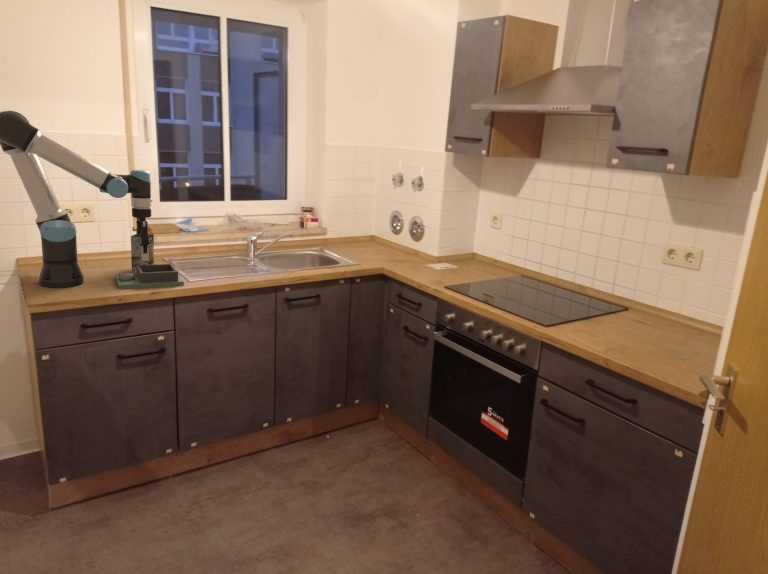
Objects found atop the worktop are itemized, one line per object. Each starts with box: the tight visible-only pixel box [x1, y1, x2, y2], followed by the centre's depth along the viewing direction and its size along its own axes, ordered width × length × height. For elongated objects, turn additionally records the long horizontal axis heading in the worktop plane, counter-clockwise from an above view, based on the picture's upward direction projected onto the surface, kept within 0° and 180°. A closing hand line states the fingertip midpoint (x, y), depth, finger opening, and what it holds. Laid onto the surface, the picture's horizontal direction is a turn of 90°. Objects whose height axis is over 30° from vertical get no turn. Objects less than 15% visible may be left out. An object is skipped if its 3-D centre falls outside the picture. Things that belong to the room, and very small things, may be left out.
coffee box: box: [130, 232, 155, 274], centre depth 245 cm, size 9×6×16 cm
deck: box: [114, 263, 185, 290], centre depth 232 cm, size 24×16×6 cm, turn 119°
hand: (142, 257), depth 246 cm, fingers open, 13 cm apart
